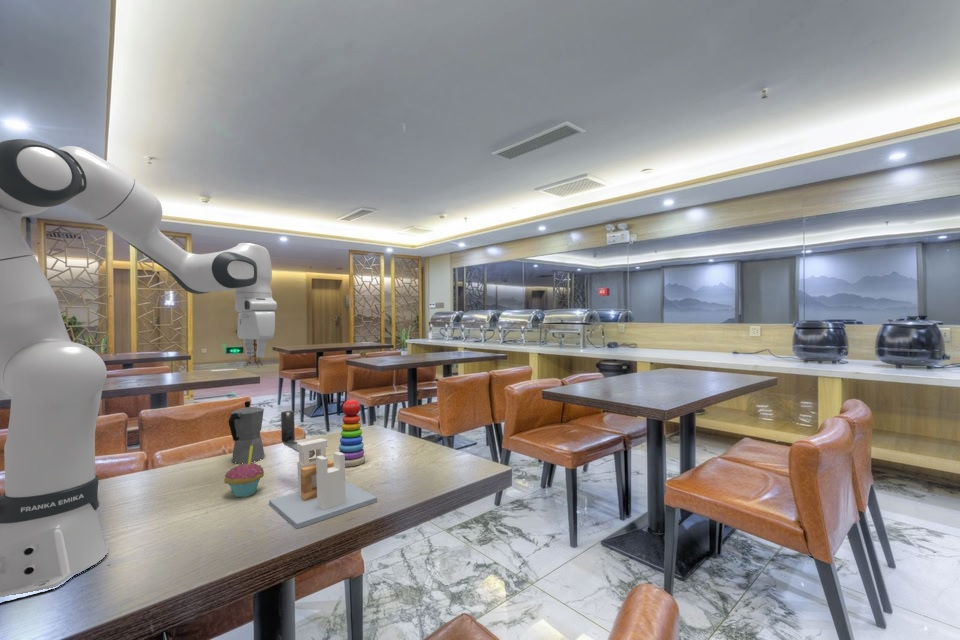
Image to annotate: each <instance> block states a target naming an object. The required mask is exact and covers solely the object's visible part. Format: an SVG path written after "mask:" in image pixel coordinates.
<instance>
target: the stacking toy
mask: <svg viewBox="0 0 960 640" xmlns="http://www.w3.org/2000/svg"><path fill="white" fill-rule="evenodd" d="M360 411H361V404H360V402H359V401H358V400H357V399H354V398H352V399H347V400H346V401H344V402H343V405H342V412H343V414H344V416H343V417H342V423H341V424H342V425H341V427H340V428H341V429H342V430H341V431H340V436H341V437H340V439H339V443H340V444H339V446H338V449H339V450H338V452H341V453H343V454H345V468H346V467H347V468H348V467H349V468H350V467H355V466H360V465H362V464H363V463H365V460H366V456H365V455H364V454H365V450H364V447H365V446H364V445H365V444H364V441H363V439H364V438H363V436H362V434H363V430H362V429H361V427H362V425H361V422H360V421H361V416H360V415H358V414H359V413H360Z"/></svg>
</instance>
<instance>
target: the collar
mask: <svg viewBox="0 0 960 640" xmlns="http://www.w3.org/2000/svg"><path fill="white" fill-rule="evenodd" d="M331 467H334V461H331V460H328V462H327V468H331ZM316 474H317V472H316V465H312V466H307V467H303V468H301V499H302V500H304V501H307V500H310V499H314V498H317V487H315V488H312V476H313V475H316Z"/></svg>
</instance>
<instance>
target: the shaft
mask: <svg viewBox="0 0 960 640" xmlns="http://www.w3.org/2000/svg"><path fill="white" fill-rule="evenodd" d="M280 417H281V418H280V420H281V421H280V422H281V423H280V427H281V430H280V431H281V432H280V433H281V435H280V436H281V443H283V445H284V446H286V447H287V448H289V449H292V450H293V451H295V452H298V453H299V451H298V450H297V443H299V441H296V435H295V433H296V432H295V431H296V430H295V429H296V428H295V411H294V410H286V411H282V412H280ZM314 456H316V450H312V451H309V459H312V458H314Z"/></svg>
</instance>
